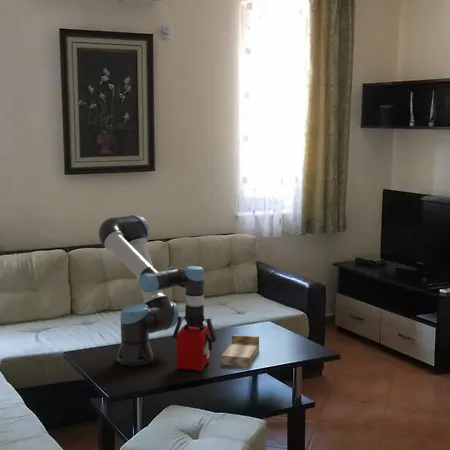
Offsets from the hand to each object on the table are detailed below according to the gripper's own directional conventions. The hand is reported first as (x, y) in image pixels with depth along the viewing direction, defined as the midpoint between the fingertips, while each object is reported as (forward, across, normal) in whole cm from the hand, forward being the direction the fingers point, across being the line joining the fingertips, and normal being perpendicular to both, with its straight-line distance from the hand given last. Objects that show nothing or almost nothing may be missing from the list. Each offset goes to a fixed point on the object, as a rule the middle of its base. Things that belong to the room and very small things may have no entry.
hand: (194, 356), depth 284 cm
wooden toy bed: (+4, +16, +15) cm, 23 cm away
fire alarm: (+3, 0, 0) cm, 3 cm away
